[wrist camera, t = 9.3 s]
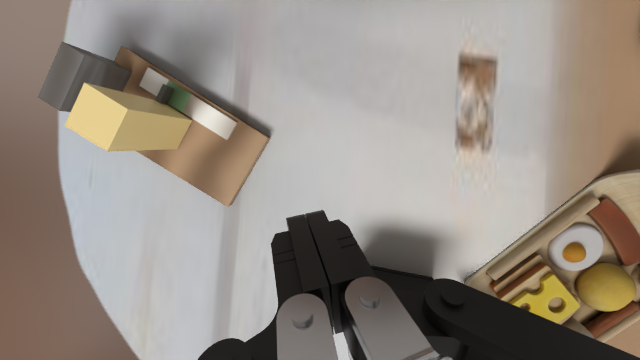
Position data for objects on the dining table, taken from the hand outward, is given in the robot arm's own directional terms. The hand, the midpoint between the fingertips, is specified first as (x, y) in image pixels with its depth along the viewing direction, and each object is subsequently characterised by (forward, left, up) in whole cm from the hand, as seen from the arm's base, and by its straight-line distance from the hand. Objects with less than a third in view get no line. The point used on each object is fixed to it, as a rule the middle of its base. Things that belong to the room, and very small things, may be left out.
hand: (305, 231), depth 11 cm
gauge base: (-5, -18, -22) cm, 29 cm away
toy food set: (+13, +33, -23) cm, 42 cm away
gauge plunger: (-7, -19, -21) cm, 29 cm away
